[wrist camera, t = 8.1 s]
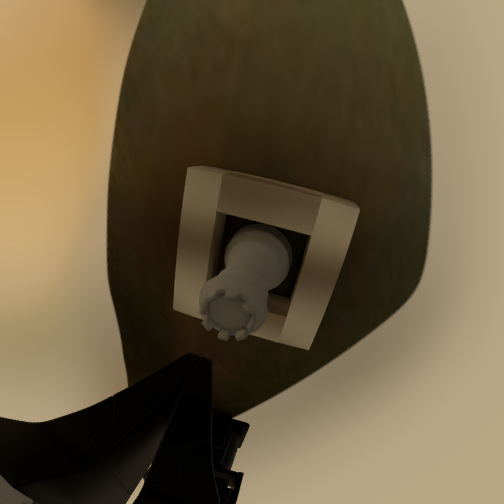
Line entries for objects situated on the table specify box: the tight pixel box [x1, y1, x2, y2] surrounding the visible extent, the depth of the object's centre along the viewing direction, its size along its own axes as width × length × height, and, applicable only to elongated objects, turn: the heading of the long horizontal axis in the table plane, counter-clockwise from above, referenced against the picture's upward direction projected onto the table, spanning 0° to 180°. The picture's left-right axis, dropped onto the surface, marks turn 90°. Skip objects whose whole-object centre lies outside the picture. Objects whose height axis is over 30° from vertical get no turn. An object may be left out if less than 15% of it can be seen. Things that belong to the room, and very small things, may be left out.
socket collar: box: [173, 165, 360, 350], centre depth 18 cm, size 10×10×2 cm
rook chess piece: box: [199, 223, 293, 341], centre depth 15 cm, size 4×4×8 cm
